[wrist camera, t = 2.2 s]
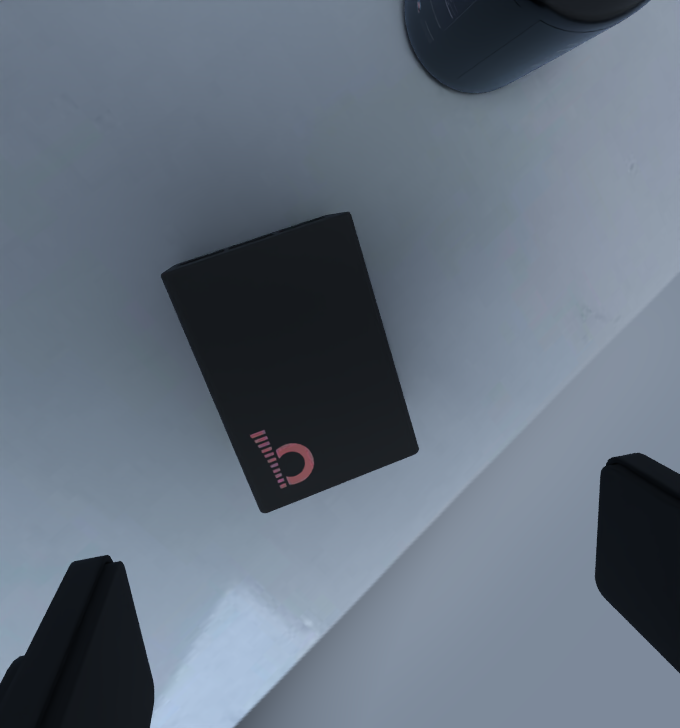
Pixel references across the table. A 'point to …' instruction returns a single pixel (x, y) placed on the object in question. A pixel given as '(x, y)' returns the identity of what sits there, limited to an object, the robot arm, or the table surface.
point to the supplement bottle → (503, 36)
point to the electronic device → (295, 358)
